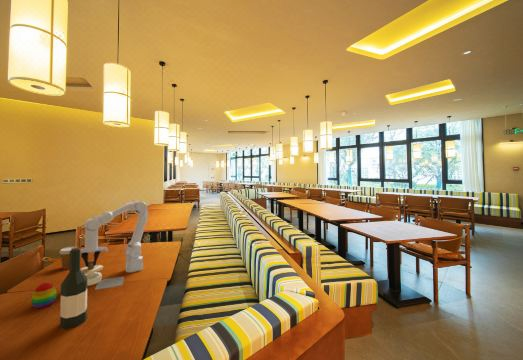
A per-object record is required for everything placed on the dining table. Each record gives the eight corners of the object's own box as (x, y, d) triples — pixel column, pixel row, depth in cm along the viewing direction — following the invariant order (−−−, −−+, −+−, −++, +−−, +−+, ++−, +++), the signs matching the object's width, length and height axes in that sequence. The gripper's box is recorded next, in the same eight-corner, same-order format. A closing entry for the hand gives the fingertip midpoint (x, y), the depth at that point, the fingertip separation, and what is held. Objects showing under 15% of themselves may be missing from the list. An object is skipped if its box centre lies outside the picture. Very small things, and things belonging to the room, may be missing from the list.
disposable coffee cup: (67, 271, 137) (67, 251, 136) (54, 269, 138) (55, 250, 138) (82, 265, 146) (82, 247, 146) (70, 263, 148) (71, 245, 148)
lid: (107, 265, 128) (107, 258, 128) (96, 273, 117) (96, 265, 117) (85, 266, 126) (85, 259, 126) (72, 274, 115) (72, 266, 115)
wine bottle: (70, 316, 93) (72, 245, 93) (91, 315, 94) (93, 245, 94) (54, 329, 85) (55, 251, 85) (77, 328, 86) (78, 251, 86)
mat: (124, 277, 129) (124, 276, 129) (122, 286, 119) (122, 285, 119) (98, 282, 124) (98, 280, 124) (94, 291, 113) (94, 290, 113)
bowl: (102, 277, 129) (102, 271, 128) (99, 285, 120) (99, 278, 120) (80, 281, 124) (80, 274, 124) (75, 289, 115) (75, 282, 115)
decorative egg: (44, 299, 105) (44, 278, 105) (61, 300, 105) (61, 279, 105) (25, 309, 97) (26, 287, 97) (43, 310, 97) (44, 287, 97)
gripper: (108, 237, 128) (107, 261, 128) (76, 240, 121) (75, 265, 121) (106, 240, 122) (106, 265, 122) (73, 244, 115) (72, 270, 115)
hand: (91, 265), depth 121 cm, fingers closed on lid, 3 cm apart
